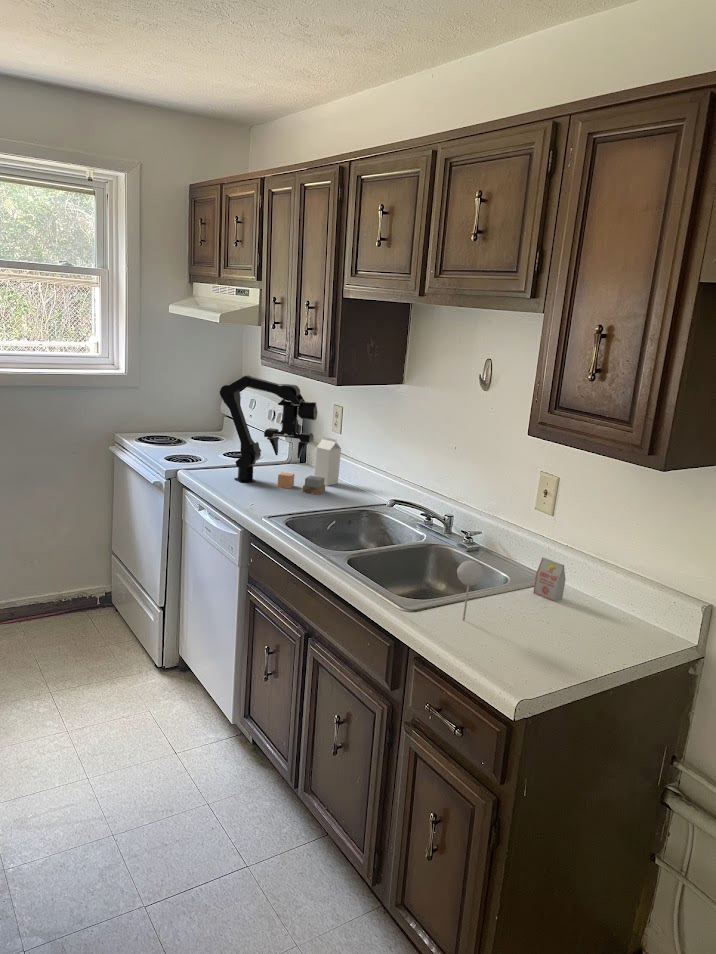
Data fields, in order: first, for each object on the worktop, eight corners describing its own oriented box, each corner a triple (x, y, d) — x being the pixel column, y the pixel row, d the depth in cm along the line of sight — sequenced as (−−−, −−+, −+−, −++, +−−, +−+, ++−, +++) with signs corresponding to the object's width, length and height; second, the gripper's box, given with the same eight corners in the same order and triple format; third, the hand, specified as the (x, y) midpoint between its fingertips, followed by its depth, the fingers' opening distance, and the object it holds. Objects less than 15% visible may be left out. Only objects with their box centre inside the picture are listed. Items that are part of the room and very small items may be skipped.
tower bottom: (302, 493, 278) (302, 485, 277) (308, 489, 285) (308, 482, 284) (319, 495, 276) (320, 488, 276) (324, 492, 283) (325, 484, 282)
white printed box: (541, 590, 197) (546, 556, 194) (562, 599, 192) (568, 564, 190) (533, 593, 194) (538, 558, 192) (554, 602, 189) (559, 566, 187)
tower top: (304, 485, 278) (305, 478, 277) (309, 482, 283) (310, 475, 283) (319, 488, 276) (319, 480, 275) (324, 485, 282) (324, 477, 281)
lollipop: (474, 615, 176) (481, 558, 172) (478, 626, 170) (486, 566, 166) (449, 614, 175) (456, 556, 172) (452, 624, 169) (460, 564, 166)
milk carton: (327, 486, 291) (330, 440, 287) (313, 482, 295) (317, 437, 291) (338, 483, 296) (341, 438, 292) (324, 480, 301) (328, 435, 296)
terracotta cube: (277, 486, 283) (278, 474, 282) (281, 484, 288) (282, 472, 287) (289, 488, 282) (290, 476, 281) (293, 486, 287) (294, 473, 286)
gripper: (319, 417, 284) (316, 456, 288) (275, 412, 288) (273, 450, 292) (310, 421, 274) (307, 461, 277) (264, 415, 278) (262, 455, 281)
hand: (287, 456), depth 282 cm, fingers open, 9 cm apart
